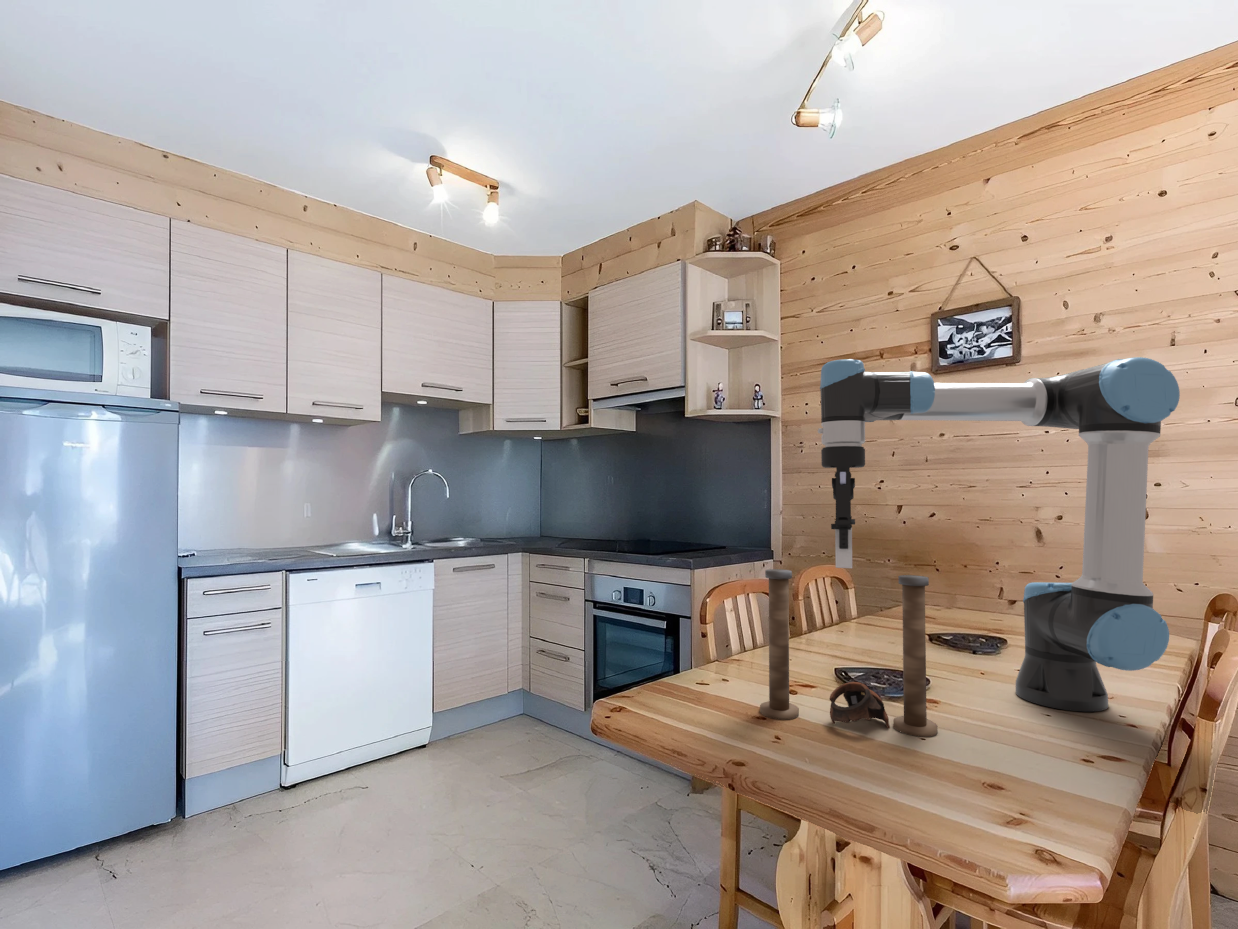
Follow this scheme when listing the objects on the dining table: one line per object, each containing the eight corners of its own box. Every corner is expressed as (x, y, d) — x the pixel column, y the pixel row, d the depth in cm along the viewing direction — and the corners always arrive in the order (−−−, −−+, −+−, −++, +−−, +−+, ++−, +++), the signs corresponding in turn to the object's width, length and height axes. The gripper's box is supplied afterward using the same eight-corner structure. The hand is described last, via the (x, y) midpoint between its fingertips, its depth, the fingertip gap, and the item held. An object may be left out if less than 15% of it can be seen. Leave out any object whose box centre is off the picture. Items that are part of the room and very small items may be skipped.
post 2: (935, 724, 114) (933, 575, 115) (940, 739, 108) (938, 580, 108) (892, 719, 117) (890, 573, 117) (894, 733, 110) (892, 578, 111)
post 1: (800, 709, 122) (799, 569, 123) (797, 721, 115) (796, 574, 116) (762, 704, 124) (761, 567, 125) (757, 716, 118) (756, 572, 119)
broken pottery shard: (902, 738, 110) (883, 699, 108) (849, 759, 111) (830, 720, 110) (877, 697, 121) (860, 661, 120) (830, 716, 123) (812, 681, 121)
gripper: (823, 449, 131) (825, 555, 130) (817, 442, 107) (819, 571, 106) (863, 449, 128) (865, 556, 127) (866, 441, 105) (868, 573, 104)
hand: (844, 563), depth 117 cm, fingers open, 13 cm apart
